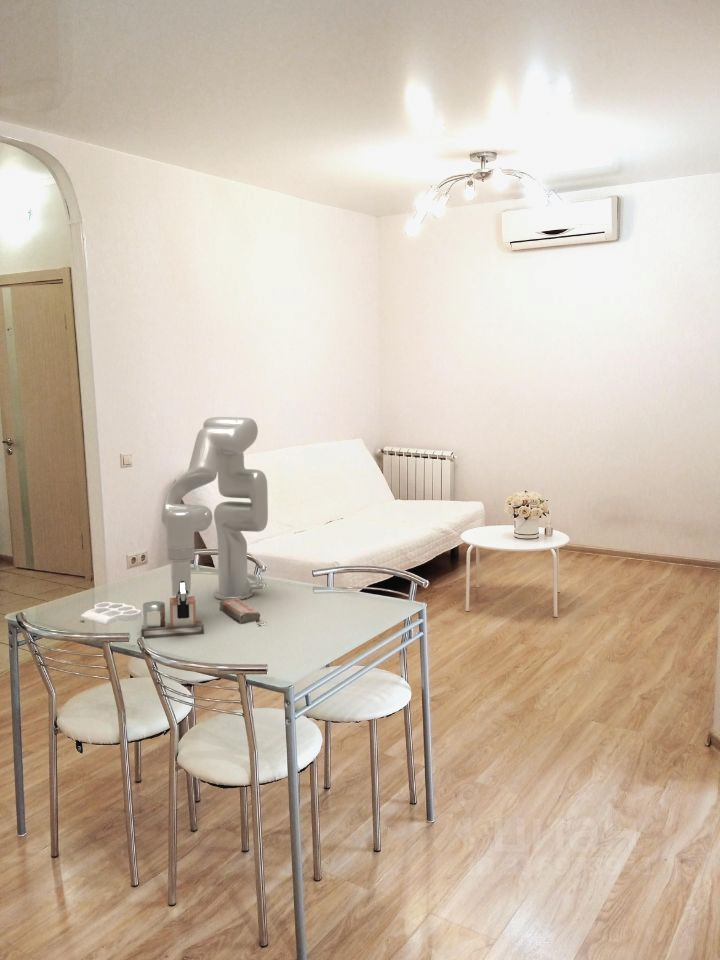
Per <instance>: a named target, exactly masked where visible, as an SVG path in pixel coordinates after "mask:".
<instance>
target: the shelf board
mask: <svg viewBox="0 0 720 960" xmlns="http://www.w3.org/2000/svg"><path fill="white" fill-rule="evenodd" d="M140 630H141V631H140V635H141V638H142V637H144V638H145V639H155V638H156V639H157V638H168V637H170V638H171V637H180V636H193V635H194V636H195V635H204V634H205V632H204V631H205V626H204V624H203V621H202V620H196V625H185V626H172V627H171V625H170V622H165V627H159V628H146V629H144V628H143V624H142V625H141V629H140Z"/></svg>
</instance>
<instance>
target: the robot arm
mask: <svg viewBox="0 0 720 960" xmlns="http://www.w3.org/2000/svg"><path fill="white" fill-rule="evenodd" d="M258 429H259V428H258V424H257V422H256V421H255V420H254V419H253V418H251V417H237V416H236V417H234V416H233V417H231V416H216V417H210V418H207V419H205V420H204V422H203V427H202V429H200V430H199V431H198V433H197V435H196V438H195V442H194V444H193V445H194V446H193V450H192V453H191V458H190V462H189V466H188V469H187V471H186V472H185V473H184V474H182V475H181V476H180V477H179V478H178V479H177V480H176V481H175V482H173V484H172V485H171V487H170V488H169V489H168V490H167V493H166V495H165V499H164V503H163V507H162V510H161V511H162V512H161V522H162V525H163V526H164V528H166V553H167V555H166V557H167V561H169V562H171V564H170V570H171V571H170V573H171V575H170V576H171V595H172V596H173V597H178V604H177V616H178V619H181V618H189V604H188V597H189V595H190V594H191V584H192V583H191V579H192V578H191V577H192V574H191V573H192V572H191V571H192V570H191V569H192V568H191V567H192V566H191V561H193V560H194V559H195V553H196V552H195V533H199V532H204V531H205V530H207V529H208V528H209V527H210V526H211V524H212V523H213V519H214V524H215V528H216V537H217V561H218V562H217V564H218V565H217V566H218V567H217V568H218V589H217V590H215V591H214V593H213V595H214V597H215V598H216V599H218V600H221V601H223V600H229V599H235V598H236V599H240V600H241V601H242V600H245V598H246V599H248V597H249V598H251V597H252V596H253V590H262V589H263V584H262V583H258V582H249V579H248V543H247V539H246V538H245V536H244V534H243V533H242V532H250V533H251V532H253V533H258V532H262V531H264V530H265V529H266V527H267V525H268V522H269V521H268V515H269V509H268V506H269V504H268V502H269V501H268V499H269V498H268V480H267V476H266V475H265V473H264V472H263V470H262V471H261V470H260V469H252V468H250V469H249V468H245V455H244V452H245V451H246V450H247V449H249V448H250V447H251V446H252V445H253V444H254V443H255V441H256V439H257V437H258V432H259V430H258ZM216 479H217V486H218V492H219V495H221V496H222V497H224V498H231V499H248V500H250V502H248V501H223V502H220V503H218V504H217V505H216V506H215V508H214V511H213V512H212V511H211V509H210V508H209V507H208V506H206V505H199V504H184V503H181V501H182V499H183V498H184V497H185V496H186V495H187V494H188V493H190V492H192V491H194V490H196V489H198V488H201V487H203V486H205V485H208V484H210V483H212V482H214V481H215V480H216ZM212 513H213V514H212ZM250 596H251V597H250Z"/></svg>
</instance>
